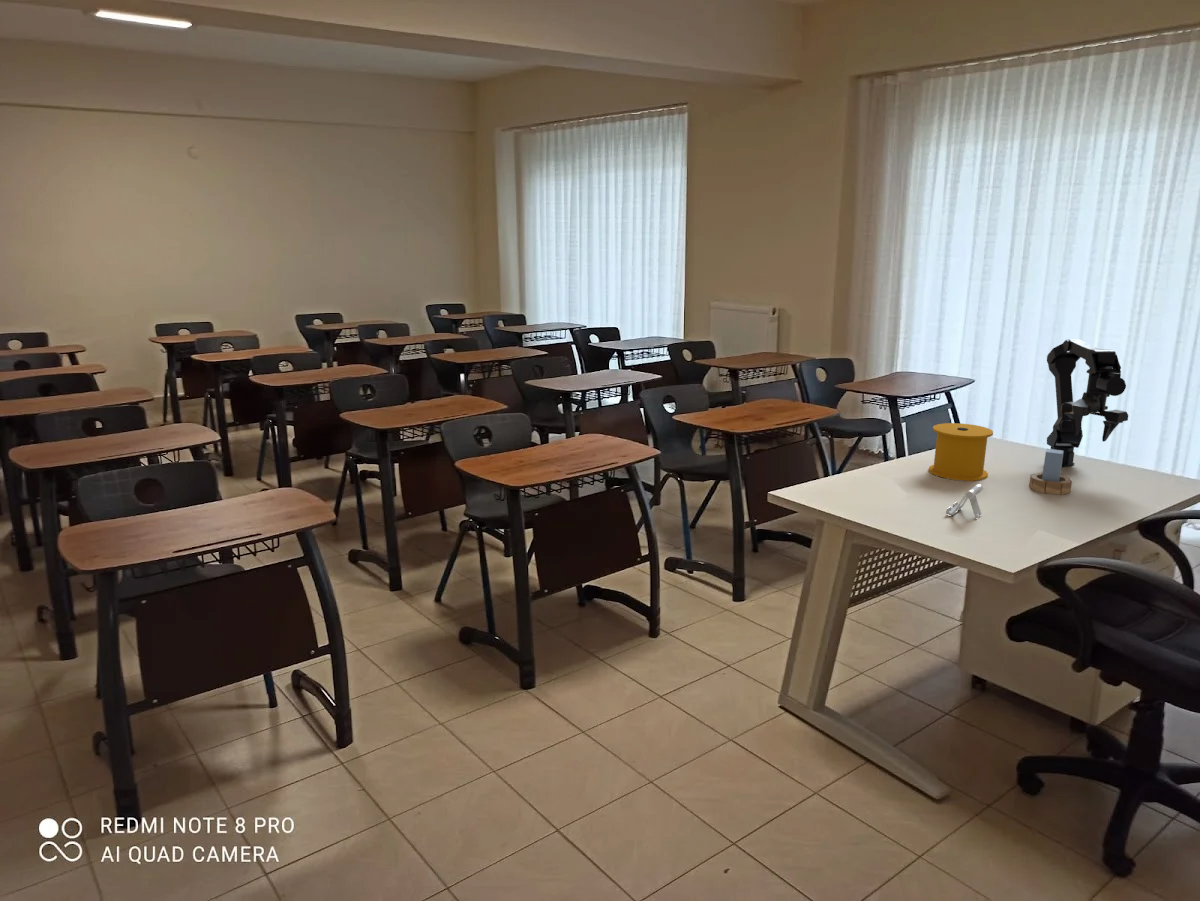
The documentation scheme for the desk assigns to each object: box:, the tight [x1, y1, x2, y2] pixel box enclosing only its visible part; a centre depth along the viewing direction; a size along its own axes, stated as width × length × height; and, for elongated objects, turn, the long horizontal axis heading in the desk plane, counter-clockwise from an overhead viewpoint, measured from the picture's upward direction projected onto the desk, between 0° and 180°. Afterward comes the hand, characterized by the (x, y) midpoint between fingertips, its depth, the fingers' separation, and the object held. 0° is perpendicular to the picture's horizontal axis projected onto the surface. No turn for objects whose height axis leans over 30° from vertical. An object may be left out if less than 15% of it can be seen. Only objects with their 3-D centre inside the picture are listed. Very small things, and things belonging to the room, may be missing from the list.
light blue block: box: [1042, 448, 1064, 482], centre depth 258 cm, size 4×4×12 cm
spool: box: [928, 422, 994, 482], centre depth 274 cm, size 18×18×15 cm
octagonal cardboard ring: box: [1028, 472, 1073, 496], centre depth 259 cm, size 11×11×4 cm
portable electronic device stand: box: [945, 483, 984, 519], centre depth 235 cm, size 9×8×8 cm
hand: (1089, 438), depth 268 cm, fingers open, 9 cm apart
